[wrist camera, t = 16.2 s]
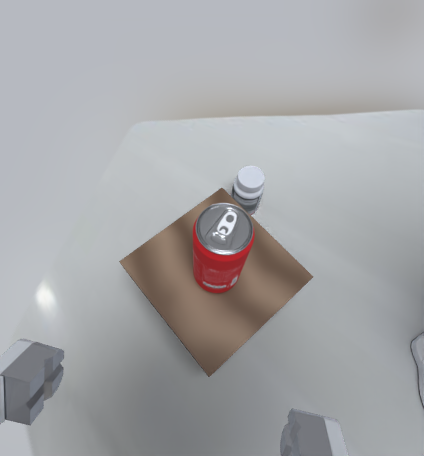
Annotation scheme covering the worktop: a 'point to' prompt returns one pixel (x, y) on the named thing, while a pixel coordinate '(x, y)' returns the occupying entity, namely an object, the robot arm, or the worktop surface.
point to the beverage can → (221, 246)
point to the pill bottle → (248, 188)
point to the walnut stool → (207, 301)
